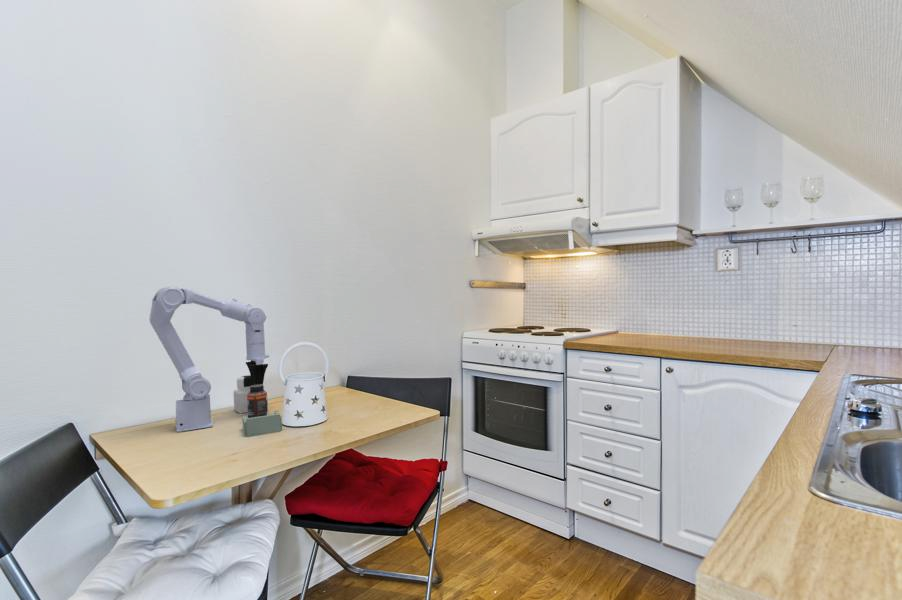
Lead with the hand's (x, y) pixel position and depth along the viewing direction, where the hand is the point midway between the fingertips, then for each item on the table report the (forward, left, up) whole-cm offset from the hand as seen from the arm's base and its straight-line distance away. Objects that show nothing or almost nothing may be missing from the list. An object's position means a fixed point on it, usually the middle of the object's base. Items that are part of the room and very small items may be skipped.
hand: (257, 383), depth 152 cm
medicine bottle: (-3, +9, -11) cm, 14 cm away
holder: (-1, -20, -11) cm, 23 cm away
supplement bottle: (-1, -8, -11) cm, 13 cm away
